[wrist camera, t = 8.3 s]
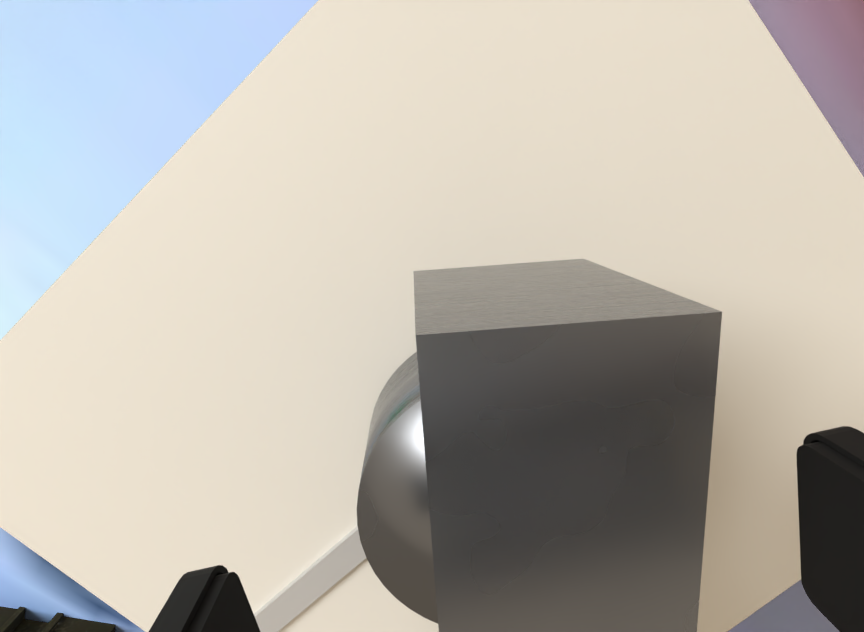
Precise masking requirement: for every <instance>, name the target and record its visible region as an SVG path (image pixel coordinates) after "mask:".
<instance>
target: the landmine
mask: <svg viewBox="0 0 864 632" xmlns="http://www.w3.org/2000/svg"><path fill="white" fill-rule="evenodd" d="M114 631H115V625H114V624H108V623H101V622H95V621H89V620H82V619H76V618H69V617H63V613H57V614H56V615H55V616H54V617H53V618H52V620H51V621H50V622H49V623H47V622H41V621H34V620H28V619H25V607H19V608H18V609H13V608H6V607H0V632H114Z"/></svg>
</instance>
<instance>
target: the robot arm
mask: <svg viewBox="0 0 864 632" xmlns="http://www.w3.org/2000/svg"><path fill="white" fill-rule="evenodd" d="M796 457H797V483H798V509H799V535H800V561H801V580H802V584H803V587H804V590H805V592H806V594H807V596H808V597H809V599H810V600H811V602H812V603H813V604H814V605H815V606H816V607H817V608H818V610H819V611H820V612H821V613H822V614H823V615H824V616H825V617H826V618H827V619H828V620H829V621H830V622H831V623H832V624H833V625H834V626H835V627H836V628H837V629H838V630H839V631H840V632H864V433H863V432H861V431H859V430H857V429H855V428H852V427H850V426H842V427H837V428H833V429H828V430H824V431H819V432H815V433H810V434H809V435H807V436H806V437H805V439H804V441H803V445H801V446H799V447H798V449H797V454H796ZM149 632H260V629H259V627H258V624H257V622H256V619H255V616H254V614H253V611H252V609H251V606H250V604H249V601H248V599H247V596H246V594H245V591H244V588H243V586H242V583H241V581H240V578H239V576H238V575H237V574H236V573H235V572H228V570H227V568H225V567H224V566H223V565H217V566H213V567H208V568H204V569H199V570H195V571H190V572H187V573H185V574H183V576H182V577H181V578H180V579H179V581H178V583H177V584H176V586H175V588H174V589H173V591H172V593H171V595H170V596H169V598H168V600H167V601H166V603H165V605H164V606H163V608H162V610H161V611H160V613H159V615H158V616H157V618H156V620H155V622H154V623H153V625H152V627H151V628H150V630H149Z"/></svg>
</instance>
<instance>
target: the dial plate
mask: <svg viewBox="0 0 864 632" xmlns="http://www.w3.org/2000/svg"><path fill="white" fill-rule="evenodd" d="M571 259H586V260H588V261H591V262H594V263H596V264H599V265H601V266H604V267H607V268H609V269H612V270H614V271H617V272H620V273H622V274H625V275H628V276H630V277H633V278H635V279H638V280H641V281H643V282H646V283H648V284H651V285H654V286H656V287H659V288H661V289H664V290H667V291H669V292H672V293H674V294H677V295H680V296H682V297H685V298H687V299H690V300H693V301H695V302H698V303H701V304H703V305H706V306H708V307H711V308H714V309H716V310H719V311H721V312H722V320H721V333H720V346H719V358H718V371H717V383H716V396H715V409H714V421H713V434H712V447H711V459H710V472H709V484H708V497H707V510H706V522H705V535H704V547H703V560H702V573H701V585H700V598H699V610H698V623H697V632H727V631H729V630H730V629H732V628H733V627H734V626H736V625H737V624H739V623H740V622H742V621H743V620H744V619H746V618H747V617H749V616H750V615H751V614H753V613H754V612H756V611H757V610H758V609H760V608H761V607H763V606H764V605H765V604H767V603H768V602H770V601H771V600H773V599H774V598H775V597H777V596H778V595H780V594H781V593H782V592H784V591H785V590H787V589H788V588H789V587H791V586H792V585H794V584H795V583H796V582H798V581H799V580H801V561H800V535H799V509H798V483H797V457H796V454H797V449H798V447H799V446H801V445H803V441H804V439H805V437H806V436H807V435H809V434H810V433H815V432H819V431H824V430H828V429H833V428H837V427H842V426H850V427H852V428H855V429H857V430H859V431H861V432H863V433H864V177H863V176H862V174H861V173H860V171H859V170H858V168H857V166H856V165H855V163H854V162H853V160H852V159H851V157H850V156H849V154H848V153H847V151H846V150H845V148H844V146H843V145H842V143H841V142H840V140H839V139H838V137H837V136H836V134H835V133H834V131H833V130H832V128H831V127H830V125H829V123H828V122H827V120H826V119H825V117H824V116H823V114H822V113H821V111H820V110H819V108H818V107H817V105H816V104H815V102H814V100H813V99H812V97H811V96H810V94H809V93H808V91H807V90H806V88H805V87H804V85H803V84H802V82H801V80H800V79H799V77H798V76H797V74H796V73H795V71H794V70H793V68H792V67H791V65H790V64H789V62H788V61H787V59H786V57H785V56H784V54H783V53H782V51H781V50H780V48H779V47H778V45H777V44H776V42H775V41H774V39H773V38H772V36H771V34H770V33H769V31H768V30H767V28H766V27H765V25H764V24H763V22H762V21H761V19H760V18H759V16H758V14H757V13H756V11H755V10H754V8H753V7H752V5H751V4H750V2H749V1H748V0H318V1H317V3H316V4H315V5H314V6H313V7H312V8H311V9H310V10H309V11H308V12H307V13H306V14H305V15H304V16H303V17H302V19H301V20H300V21H299V22H298V23H297V24H296V25H295V26H294V27H293V28H292V29H291V30H290V31H289V32H288V34H287V35H286V36H285V37H284V38H283V39H282V40H281V41H280V42H279V43H278V44H277V45H276V46H275V47H274V48H273V50H272V51H271V52H270V53H269V54H268V55H267V56H266V57H265V58H264V59H263V60H262V61H261V62H260V63H259V65H258V66H257V67H256V68H255V69H254V70H253V71H252V72H251V73H250V74H249V75H248V76H247V77H246V78H245V79H244V81H243V82H242V83H241V84H240V85H239V86H238V87H237V88H236V89H235V90H234V91H233V92H232V93H231V94H230V96H229V97H228V98H227V99H226V100H225V101H224V102H223V103H222V104H221V105H220V106H219V107H218V108H217V109H216V110H215V112H214V113H213V114H212V115H211V116H210V117H209V118H208V119H207V120H206V121H205V122H204V123H203V124H202V125H201V127H200V128H199V129H198V130H197V131H196V132H195V133H194V134H193V135H192V136H191V137H190V138H189V139H188V140H187V141H186V143H185V144H184V145H183V146H182V147H181V148H180V149H179V150H178V151H177V152H176V153H175V154H174V155H173V156H172V158H171V159H170V160H169V161H168V162H167V163H166V164H165V165H164V166H163V167H162V168H161V169H160V170H159V171H158V172H157V174H156V175H155V176H154V177H153V178H152V179H151V180H150V181H149V182H148V183H147V184H146V185H145V186H144V187H143V189H142V190H141V191H140V192H139V193H138V194H137V195H136V196H135V197H134V198H133V199H132V200H131V201H130V202H129V203H128V205H127V206H126V207H125V208H124V209H123V210H122V211H121V212H120V213H119V214H118V215H117V216H116V217H115V218H114V220H113V221H112V222H111V223H110V224H109V225H108V226H107V227H106V228H105V229H104V230H103V231H102V232H101V233H100V234H99V236H98V237H97V238H96V239H95V240H94V241H93V242H92V243H91V244H90V245H89V246H88V247H87V248H86V249H85V250H84V252H83V253H82V254H81V255H80V256H79V257H78V258H77V259H76V260H75V261H74V262H73V263H72V264H71V265H70V267H69V268H68V269H67V270H66V271H65V272H64V273H63V274H62V275H61V276H60V277H59V278H58V279H57V280H56V281H55V283H54V284H53V285H52V286H51V287H50V288H49V289H48V290H47V291H46V292H45V293H44V294H43V295H42V296H41V298H40V299H39V300H38V301H37V302H36V303H35V304H34V305H33V306H32V307H31V308H30V309H29V310H28V311H27V312H26V314H25V315H24V316H23V317H22V318H21V319H20V320H19V321H18V322H17V323H16V324H15V325H14V326H13V327H12V329H11V330H10V331H9V332H8V333H7V334H6V335H5V336H4V337H3V338H2V339H1V340H0V527H1V528H2V529H4V530H5V531H7V532H8V533H9V534H11V535H12V536H13V537H15V538H16V539H18V540H19V541H20V542H22V543H23V544H25V545H26V546H27V547H29V548H30V549H32V550H33V551H34V552H36V553H37V554H38V555H40V556H41V557H43V558H44V559H45V560H47V561H48V562H50V563H51V564H52V565H54V566H55V567H56V568H58V569H59V570H61V571H62V572H63V573H65V574H66V575H68V576H69V577H70V578H72V579H73V580H75V581H76V582H77V583H79V584H80V585H81V586H83V587H84V588H86V589H87V590H88V591H90V592H91V593H93V594H94V595H95V596H97V597H98V598H99V599H101V600H102V601H104V602H105V603H106V604H108V605H109V606H111V607H112V608H113V609H115V610H116V611H118V612H119V613H120V614H122V615H123V616H124V617H126V618H127V619H129V620H130V621H131V622H133V623H134V624H136V625H137V626H138V627H140V628H141V629H142V630H144V631H145V632H149V630H150V628H151V627H152V625H153V623H154V622H155V620H156V618H157V616H158V615H159V613H160V611H161V610H162V608H163V606H164V605H165V603H166V601H167V600H168V598H169V596H170V595H171V593H172V591H173V589H174V588H175V586H176V584H177V583H178V581H179V579H180V578H181V577H182V576H183V574H185V573H187V572H190V571H195V570H199V569H204V568H208V567H213V566H217V565H223V566H224V567H225V568H227V570H228V572H235V573H236V574H237V575H238V576H239V578H240V581H241V583H242V586H243V588H244V591H245V594H246V596H247V599H248V601H249V604H250V606H251V609H252V611H253V614H254V616H255V619H256V622H257V624H258V627H259V629H260V632H439V627H438V624H437V623H435V622H433V621H430V620H428V619H426V618H424V617H422V616H421V615H419V614H417V613H415V612H414V611H412V610H410V609H409V608H408V607H406V606H405V605H404V604H403V603H401V602H400V601H399V600H397V599H396V598H395V597H394V596H393V595H392V594H391V593H390V592H389V591H388V590H387V589H386V588H385V587H384V585H383V584H382V583H381V581H380V580H379V578H378V577H377V576H376V574H375V573H374V571H373V569H372V568H371V566H370V564H369V562H368V560H367V558H366V556H365V553H364V550H363V547H362V544H361V541H360V536H359V531H358V526H357V500H358V490H359V485H360V479H361V473H362V468H363V462H364V456H365V451H366V445H367V439H368V433H369V428H370V422H371V418H372V414H373V410H374V407H375V404H376V402H377V400H378V397H379V395H380V393H381V391H382V389H383V388H384V386H385V384H386V383H387V381H388V380H389V378H390V377H391V376H392V375H393V373H394V372H395V371H396V369H397V368H398V367H399V366H400V365H401V364H403V363H404V362H405V361H406V360H407V359H408V358H409V357H410V356H412V355H413V354H414V353H416V352H417V348H416V335H415V304H414V273H413V271H421V270H434V269H448V268H462V267H475V266H489V265H503V264H516V263H530V262H543V261H557V260H571Z"/></svg>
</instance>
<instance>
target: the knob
mask: <svg viewBox="0 0 864 632" xmlns="http://www.w3.org/2000/svg"><path fill="white" fill-rule="evenodd" d="M413 273H414V304H415V335H416V348H417V352H416V353H414V354H413V355H412V356H410V357H409V358H408V359H407V360H406V361H405V362H404V363H403V364H401V365H400V366H399V367H398V368H397V369H396V371H395V372H394V373H393V375H392V376H391V377H390V378H389V380H388V381H387V383H386V384H385V386H384V388H383V389H382V391H381V393H380V395H379V397H378V400H377V402H376V404H375V407H374V410H373V414H372V418H371V422H370V428H369V433H368V439H367V445H366V451H365V456H364V462H363V468H362V473H361V479H360V485H359V490H358V500H357V526H358V531H359V536H360V541H361V544H362V547H363V550H364V553H365V556H366V558H367V560H368V562H369V564H370V566H371V568H372V569H373V571H374V573H375V574H376V576H377V577H378V578H379V580H380V581H381V583H382V584H383V585H384V587H385V588H386V589H387V590H388V591H389V592H390V593H391V594H392V595H393V596H394V597H395V598H396V599H397V600H399V601H400V602H401V603H403V604H404V605H405V606H406V607H408V608H409V609H410V610H412V611H414V612H415V613H417V614H419V615H421V616H422V617H424V618H426V619H428V620H430V621H433V622H435V623H437V624H438V627H439V632H697V623H698V610H699V598H700V585H701V573H702V560H703V547H704V535H705V522H706V510H707V497H708V484H709V472H710V459H711V447H712V434H713V421H714V409H715V396H716V383H717V371H718V358H719V346H720V333H721V320H722V312H721V311H719V310H716V309H714V308H711V307H708V306H706V305H703V304H701V303H698V302H695V301H693V300H690V299H687V298H685V297H682V296H680V295H677V294H674V293H672V292H669V291H667V290H664V289H661V288H659V287H656V286H654V285H651V284H648V283H646V282H643V281H641V280H638V279H635V278H633V277H630V276H628V275H625V274H622V273H620V272H617V271H614V270H612V269H609V268H607V267H604V266H601V265H599V264H596V263H594V262H591V261H588V260H586V259H571V260H557V261H543V262H530V263H516V264H503V265H489V266H475V267H462V268H448V269H434V270H421V271H413Z"/></svg>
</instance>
